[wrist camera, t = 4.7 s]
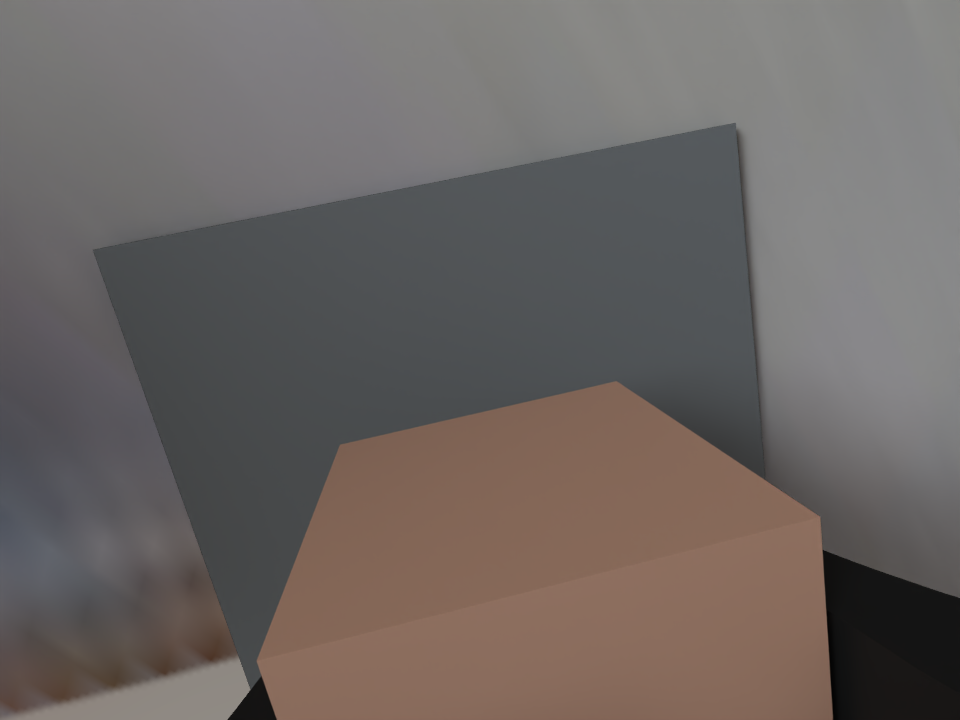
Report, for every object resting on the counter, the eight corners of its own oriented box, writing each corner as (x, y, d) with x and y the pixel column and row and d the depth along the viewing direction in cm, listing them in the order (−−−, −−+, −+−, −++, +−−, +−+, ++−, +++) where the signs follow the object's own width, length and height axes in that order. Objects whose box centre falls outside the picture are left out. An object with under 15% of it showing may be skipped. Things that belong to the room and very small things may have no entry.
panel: (727, 125, 12) (735, 123, 12) (772, 638, 15) (779, 646, 15) (101, 249, 11) (93, 249, 11) (285, 769, 14) (283, 780, 14)
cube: (616, 381, 10) (821, 517, 5) (651, 617, 11) (845, 922, 6) (339, 444, 9) (256, 661, 4) (405, 682, 10) (396, 1063, 6)
